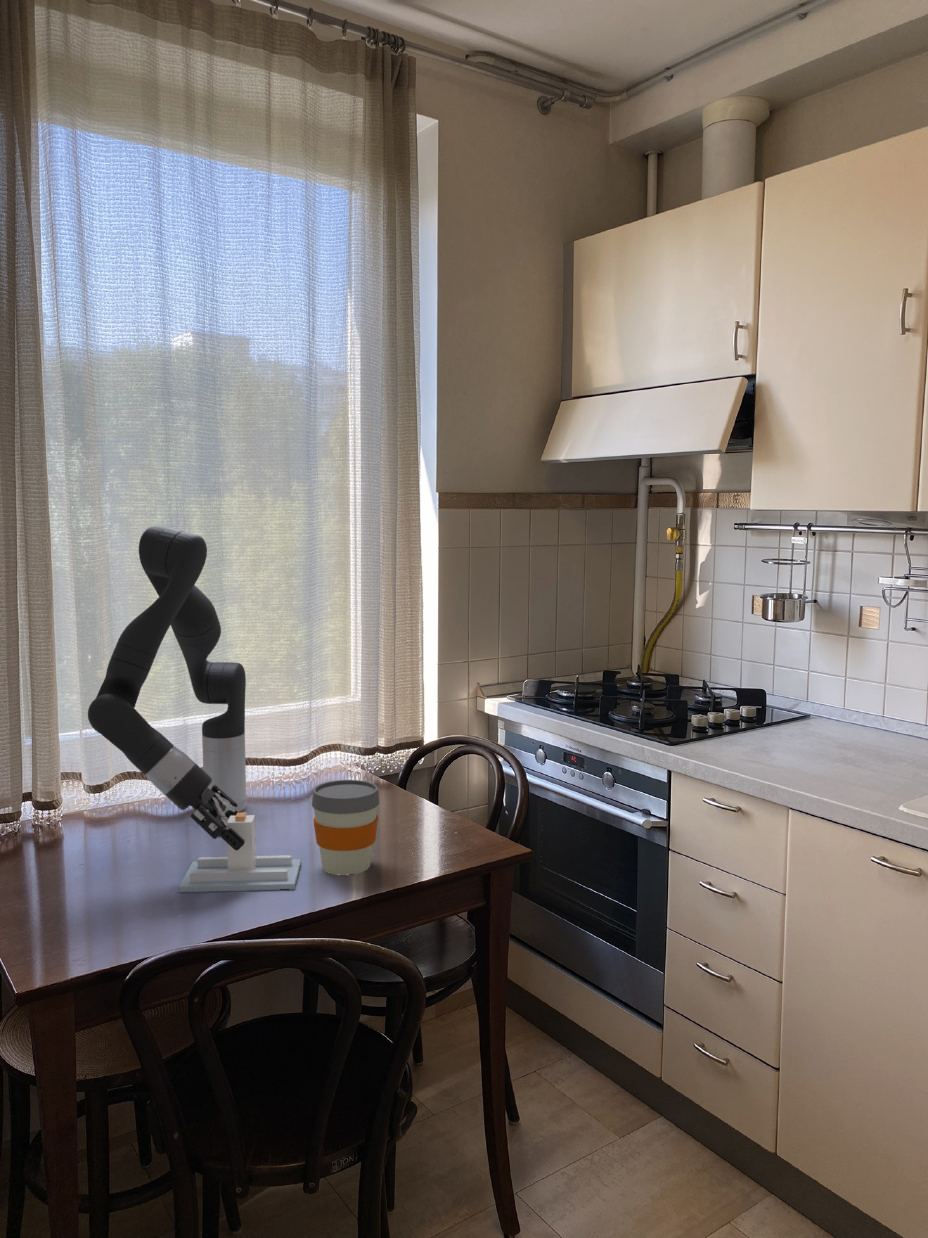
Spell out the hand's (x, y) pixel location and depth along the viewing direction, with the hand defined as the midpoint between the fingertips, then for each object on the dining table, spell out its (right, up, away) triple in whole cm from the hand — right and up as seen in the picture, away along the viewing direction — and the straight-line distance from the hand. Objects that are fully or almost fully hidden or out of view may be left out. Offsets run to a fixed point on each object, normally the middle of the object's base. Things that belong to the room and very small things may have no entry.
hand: (245, 838), depth 167 cm
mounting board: (-1, -7, +1) cm, 7 cm away
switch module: (-1, -6, +1) cm, 6 cm away
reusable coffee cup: (+18, -7, +6) cm, 20 cm away
